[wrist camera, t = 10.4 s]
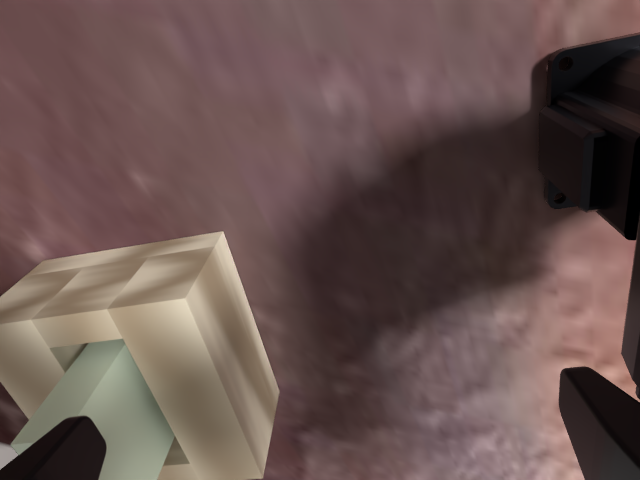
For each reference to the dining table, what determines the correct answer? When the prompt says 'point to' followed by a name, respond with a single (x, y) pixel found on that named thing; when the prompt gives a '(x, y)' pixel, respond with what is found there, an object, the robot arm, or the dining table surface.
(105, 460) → the green rectangular block
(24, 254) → the dining table surface
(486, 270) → the dining table surface
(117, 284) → the hollow square frame
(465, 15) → the dining table surface
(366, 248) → the dining table surface
